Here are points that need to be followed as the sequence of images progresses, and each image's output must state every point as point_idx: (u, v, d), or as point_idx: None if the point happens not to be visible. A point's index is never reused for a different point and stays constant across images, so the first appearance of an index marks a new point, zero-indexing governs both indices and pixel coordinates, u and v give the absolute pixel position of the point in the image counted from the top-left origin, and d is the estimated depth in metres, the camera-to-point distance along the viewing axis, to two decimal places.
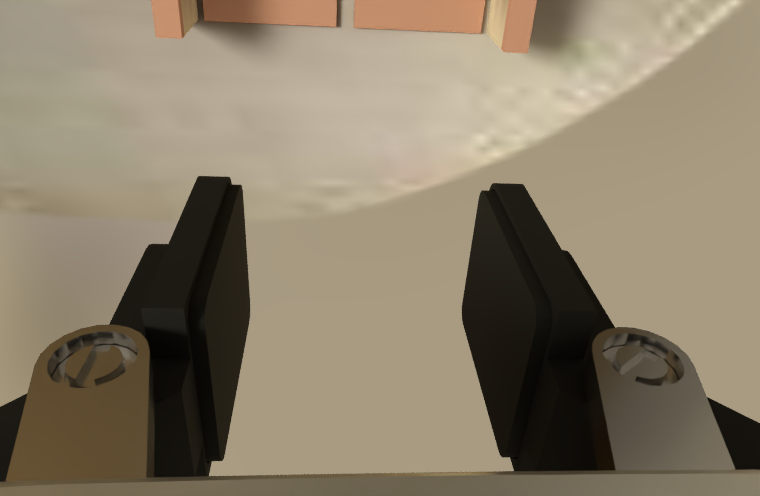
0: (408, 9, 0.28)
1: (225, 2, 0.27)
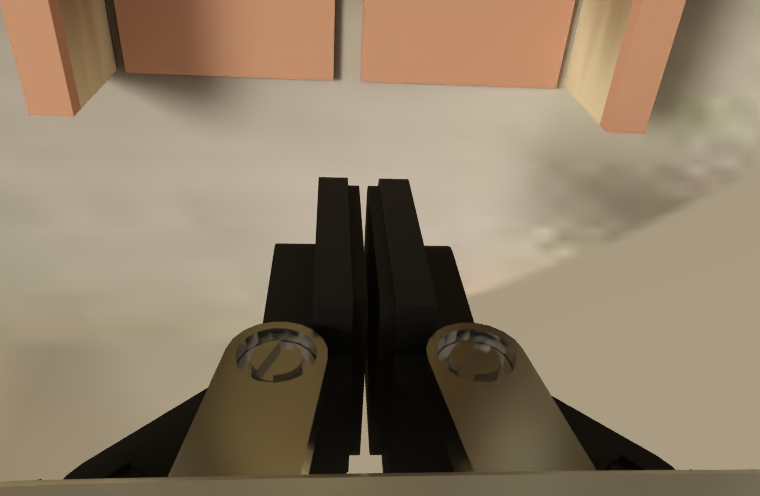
0: (446, 54, 0.18)
1: (156, 44, 0.17)
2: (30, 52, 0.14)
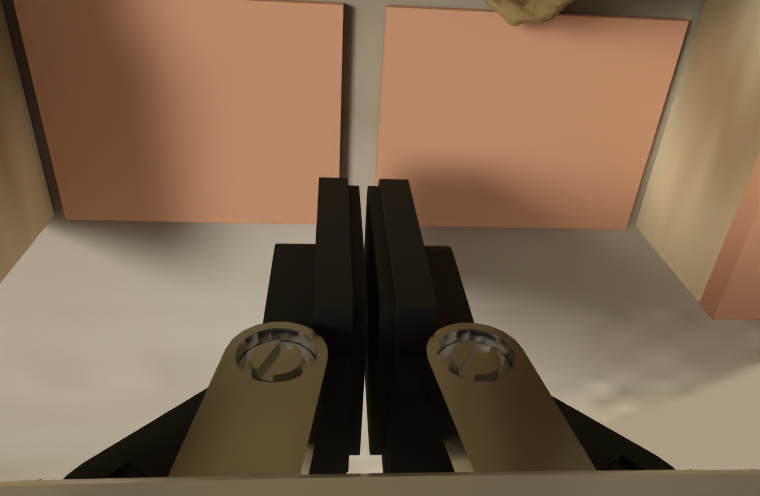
0: (485, 192, 0.14)
1: (105, 186, 0.13)
2: None
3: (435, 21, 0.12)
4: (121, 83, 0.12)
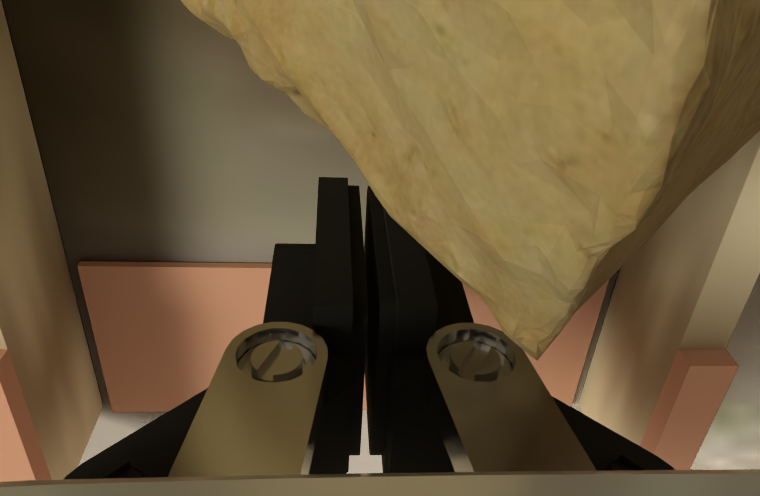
0: None
1: (145, 389, 0.16)
2: None
3: None
4: (161, 322, 0.15)
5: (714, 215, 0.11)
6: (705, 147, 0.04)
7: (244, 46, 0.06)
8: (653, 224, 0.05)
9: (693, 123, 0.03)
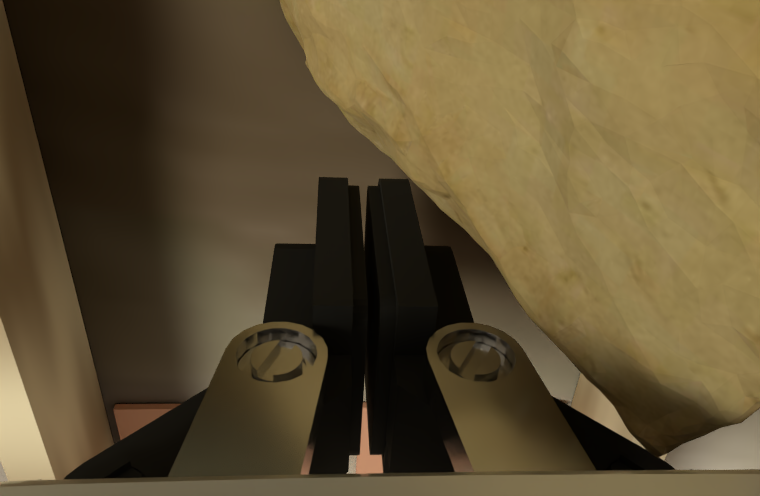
0: None
1: None
2: None
3: None
4: None
5: None
6: None
7: (403, 151, 0.07)
8: None
9: None
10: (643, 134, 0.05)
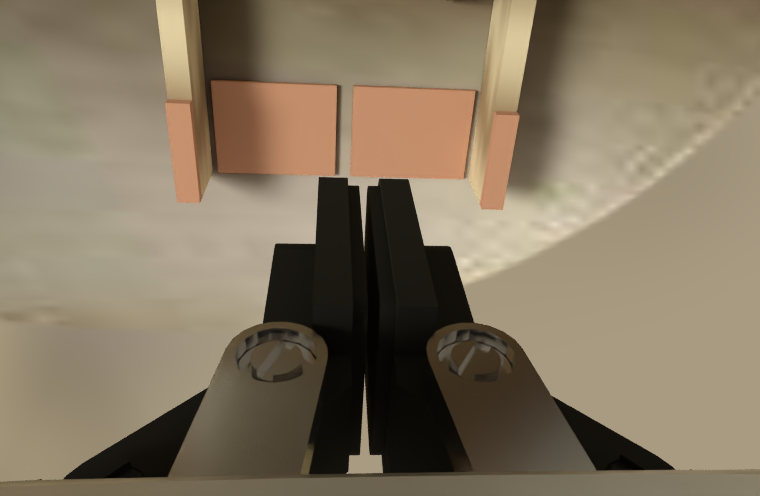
0: (398, 161, 0.31)
1: (236, 158, 0.31)
2: (182, 172, 0.27)
3: (373, 91, 0.29)
4: (248, 115, 0.30)
5: (502, 42, 0.26)
6: None
7: None
8: None
9: None
10: None
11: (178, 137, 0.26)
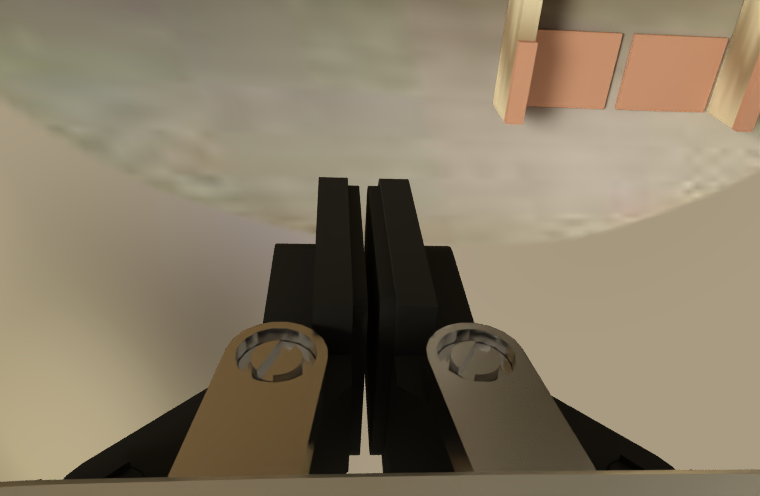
0: (656, 97, 0.39)
1: (531, 93, 0.38)
2: (516, 99, 0.35)
3: (649, 38, 0.37)
4: (548, 58, 0.37)
5: None
6: None
7: None
8: None
9: None
10: None
11: (522, 69, 0.34)
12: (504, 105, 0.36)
